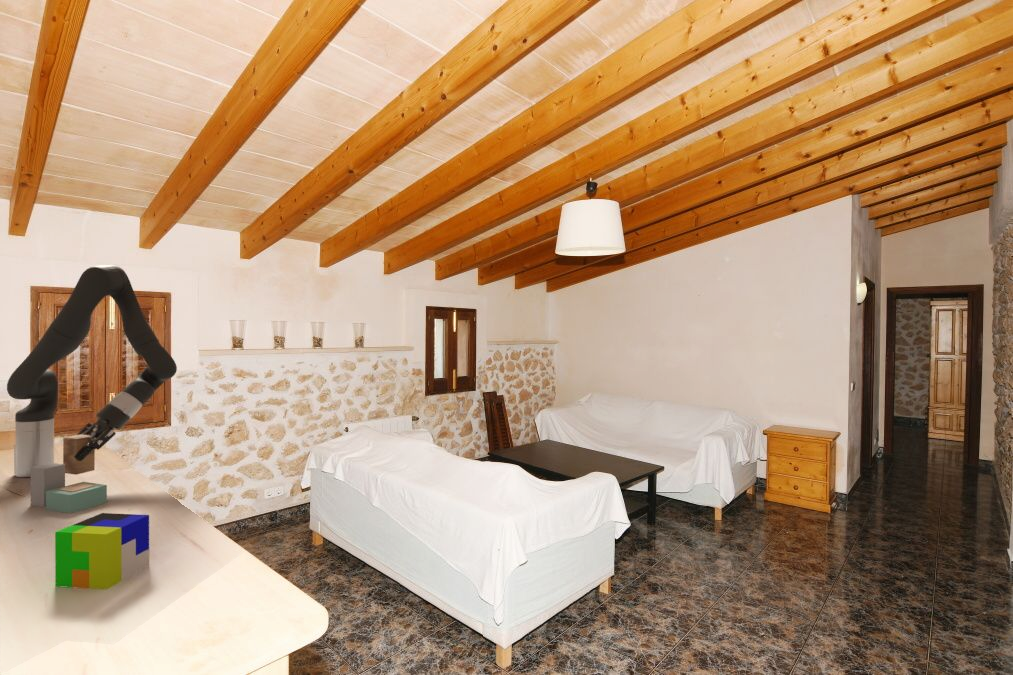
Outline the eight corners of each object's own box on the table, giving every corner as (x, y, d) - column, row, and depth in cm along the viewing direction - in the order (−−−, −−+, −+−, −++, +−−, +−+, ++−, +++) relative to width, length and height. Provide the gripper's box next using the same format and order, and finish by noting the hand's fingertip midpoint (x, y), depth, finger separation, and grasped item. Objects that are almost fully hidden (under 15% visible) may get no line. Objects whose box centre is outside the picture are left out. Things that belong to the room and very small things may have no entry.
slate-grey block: (30, 505, 140) (30, 467, 139) (51, 499, 144) (51, 462, 144) (44, 507, 138) (44, 469, 138) (65, 501, 143) (64, 464, 143)
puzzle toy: (149, 565, 105) (149, 515, 105) (106, 589, 95) (106, 534, 95) (102, 562, 106) (102, 512, 106) (55, 586, 96) (55, 531, 96)
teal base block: (45, 510, 137) (45, 490, 137) (83, 499, 145) (83, 481, 145) (69, 514, 134) (69, 494, 134) (106, 503, 142) (106, 484, 142)
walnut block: (63, 472, 150) (63, 437, 150) (81, 468, 155) (81, 434, 155) (76, 474, 149) (76, 439, 148) (94, 470, 154) (94, 435, 153)
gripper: (98, 400, 161) (49, 446, 152) (121, 405, 154) (71, 453, 144) (118, 415, 166) (71, 461, 156) (141, 420, 159) (94, 469, 149)
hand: (71, 457), depth 150 cm, fingers closed on walnut block, 6 cm apart
